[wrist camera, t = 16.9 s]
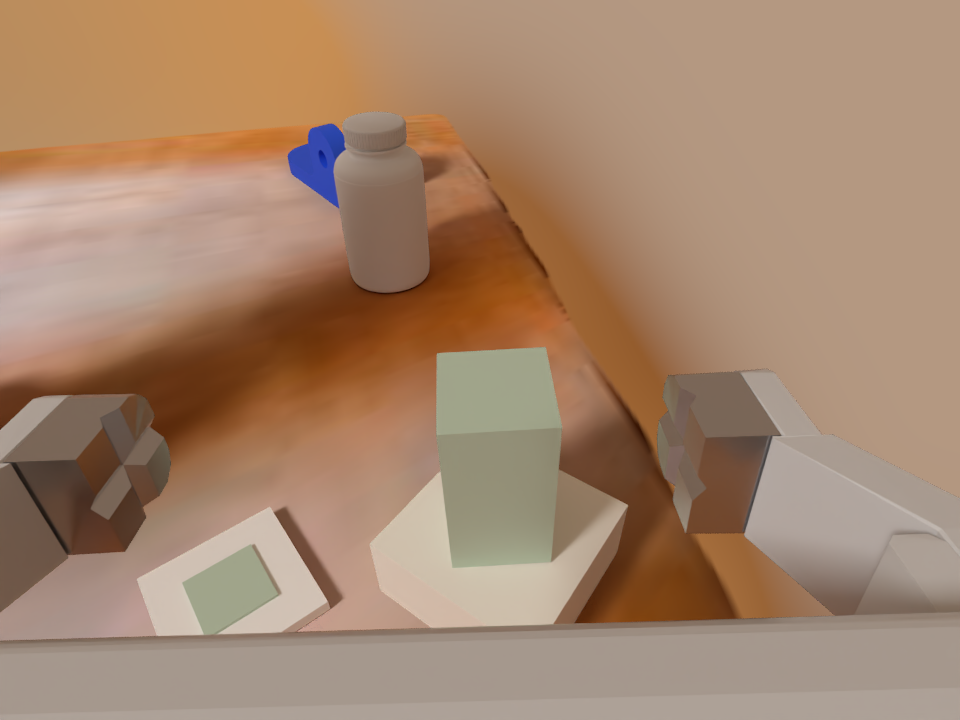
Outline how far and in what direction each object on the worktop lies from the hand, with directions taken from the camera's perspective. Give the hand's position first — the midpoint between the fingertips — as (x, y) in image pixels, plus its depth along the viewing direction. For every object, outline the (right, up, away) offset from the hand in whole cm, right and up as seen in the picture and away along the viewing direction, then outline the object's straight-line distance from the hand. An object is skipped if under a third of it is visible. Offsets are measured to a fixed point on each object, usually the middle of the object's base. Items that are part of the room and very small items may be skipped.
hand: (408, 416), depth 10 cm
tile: (-13, -13, +25) cm, 30 cm away
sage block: (+2, -8, +23) cm, 24 cm away
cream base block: (+2, -12, +26) cm, 29 cm away
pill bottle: (-8, +9, +51) cm, 52 cm away
